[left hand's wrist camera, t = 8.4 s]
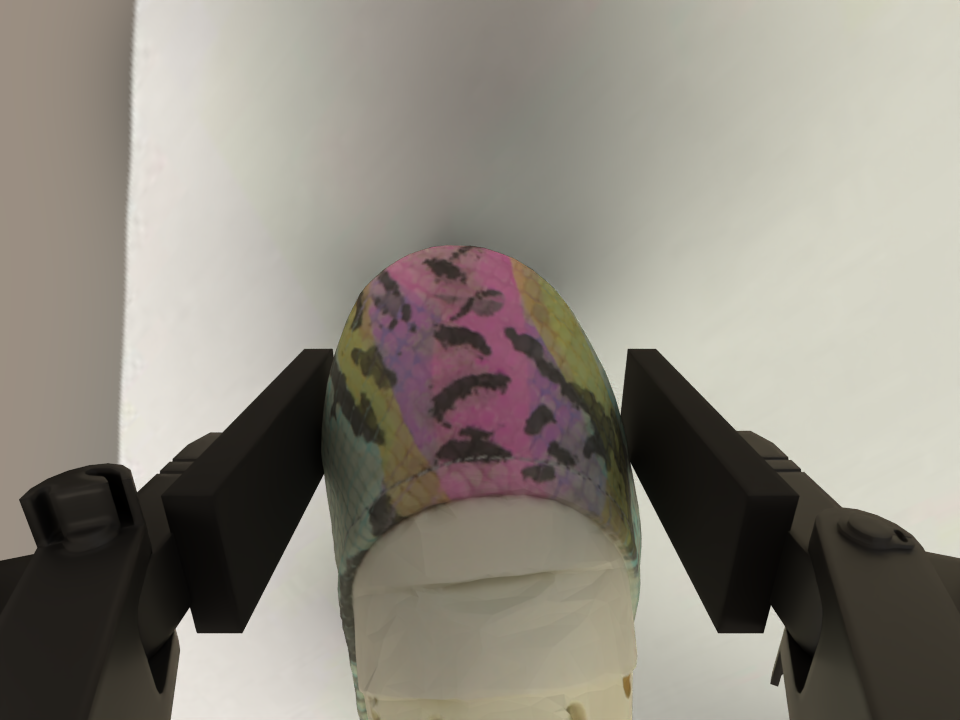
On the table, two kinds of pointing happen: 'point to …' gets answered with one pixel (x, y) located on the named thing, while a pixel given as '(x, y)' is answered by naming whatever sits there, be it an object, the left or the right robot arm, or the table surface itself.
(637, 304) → the table surface
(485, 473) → the ballet flat
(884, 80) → the table surface
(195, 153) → the table surface
